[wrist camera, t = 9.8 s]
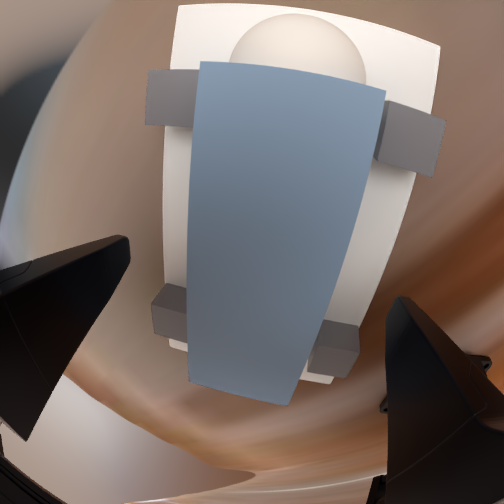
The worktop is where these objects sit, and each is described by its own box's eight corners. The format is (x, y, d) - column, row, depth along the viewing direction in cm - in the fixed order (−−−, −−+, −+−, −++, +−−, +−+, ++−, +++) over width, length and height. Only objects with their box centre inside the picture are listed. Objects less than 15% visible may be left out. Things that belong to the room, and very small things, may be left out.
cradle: (330, 371, 17) (328, 408, 15) (175, 335, 18) (158, 367, 16) (431, 49, 8) (460, 39, 6) (188, 11, 9) (157, -6, 7)
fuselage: (296, 342, 15) (287, 406, 12) (214, 323, 16) (189, 381, 12) (368, 44, 8) (396, 17, 5) (247, 24, 8) (211, -9, 5)
